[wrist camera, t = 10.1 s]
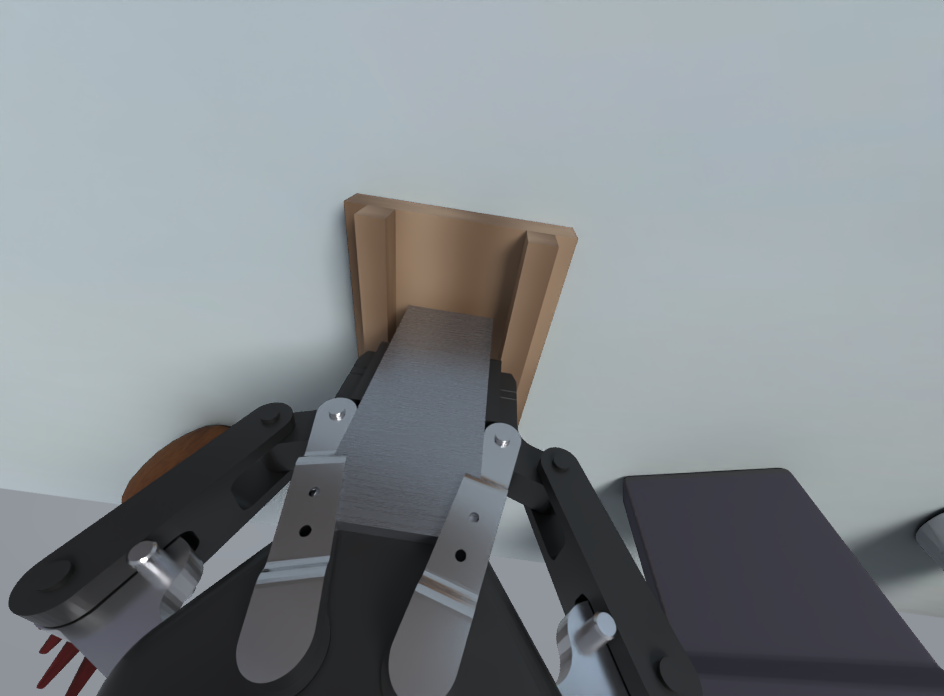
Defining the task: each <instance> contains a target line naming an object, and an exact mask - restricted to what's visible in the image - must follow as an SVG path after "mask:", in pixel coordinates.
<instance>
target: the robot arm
mask: <svg viewBox="0 0 944 696" xmlns="http://www.w3.org/2000/svg"><path fill="white" fill-rule="evenodd" d="M389 344H390V342H384V341H382V342H381V343H380V345H379V347H378V349H377V351H376V352H373V351H367V352H366V353H364V354H363V355H361V356H360V357H359V358H358V360H357V361H356V363H355V365H354V367H353V368H352V370H351V372H350V374H349V375H348V377H347V378H346V380H345V382H344V383H343V385H342V387H341V388H340V390H339V392H338V393H337V395H336V397H335V398H333V399H330V400H328V401H326V402H324V403H323V404H322V405H321V406H320V407H319V408H318V410H314V411H306V412H295V413H293V411H292V409H291V407H290V406H288V405H287V404H284V403H270V404H266V405H263V406H261V407H259V408H257V409H256V410H254V411H253V412H252V413H250V414H249V415H247V416H246V417H244V418H243V419H242V420H240V421H239V422H237V423H236V424H235V425H233V426H232V427H230V428H229V429H227V430H226V431H225V432H223V433H222V434H220V435H219V436H217V437H216V438H215V439H213V440H212V441H210V442H209V443H208V444H206V445H205V446H203V447H202V448H200V449H199V450H198V451H196V452H195V453H193V454H192V455H190V456H189V457H188V458H186V459H185V460H183V461H182V462H181V463H179V464H178V465H176V466H175V467H173V468H172V469H171V470H169V471H168V472H166V473H165V474H163V475H162V476H161V477H159V478H158V479H156V480H155V481H154V482H152V483H151V484H149V485H148V486H146V487H145V488H144V489H142V490H141V491H139V492H138V493H136V494H135V495H134V496H132V497H131V498H129V499H128V500H126V501H125V502H124V503H122V504H121V505H119V506H118V507H117V508H115V509H114V510H112V511H111V512H109V513H108V514H107V515H105V516H104V517H102V518H101V519H99V520H98V521H97V522H96V523H94V524H93V525H91V526H90V527H88V528H87V529H85V530H84V531H82V532H81V533H80V534H78V535H77V536H75V537H74V538H73V539H71V540H70V541H68V542H67V543H65V544H64V545H63V546H61V547H60V548H58V549H57V550H55V551H54V552H53V553H51V554H50V555H48V556H47V557H45V558H44V559H43V560H42V561H40V562H38V563H37V564H36V565H35V566H33V567H32V568H31V569H30V570H29V571H27V572H26V573H25V574H24V575H23V577H22V578H21V579H20V580H19V581H18V582H17V584H16V585H15V587H14V588H13V590H12V592H11V594H10V597H9V608H10V610H11V611H12V612H13V613H14V614H16V615H19V616H21V617H23V618H25V619H27V620H29V621H31V622H33V623H34V624H35V625H36V627H38V628H40V629H42V630H44V631H46V632H48V633H50V634H53V635H55V636H57V637H59V638H61V639H63V640H66V641H68V642H71V643H72V644H73V645H74V646H75V647H76V648H77V649H78V650H79V651H80V652H81V653H82V654H83V655H84V656H85V657H86V658H87V659H88V660H89V661H90V662H91V663H92V664H93V665H94V666H95V667H96V668H97V669H98V670H99V671H100V672H101V673H102V674H103V675H104V676H105V677H106V678H107V679H106V680H105V682H104V683H103V685H102V687H101V689H100V690H99V692H98V694H97V696H703V692H702V686H701V683H700V679H699V677H698V674H697V672H696V670H695V668H694V666H693V664H692V663H691V661H690V659H689V657H688V655H687V654H686V652H685V650H684V648H683V647H682V645H681V643H680V641H679V640H678V638H677V636H676V634H675V632H674V631H673V629H672V627H671V625H670V624H669V622H668V620H667V618H666V616H665V615H664V613H663V611H662V609H661V608H660V606H659V604H658V602H657V601H656V599H655V597H654V595H653V593H652V592H651V590H650V588H649V586H648V585H647V583H646V581H645V579H644V578H643V576H642V574H641V572H640V570H639V569H638V567H637V565H636V563H635V562H634V560H633V558H632V556H631V554H630V553H629V551H628V549H627V547H626V546H625V544H624V542H623V540H622V539H621V537H620V535H619V533H618V531H617V530H616V528H615V526H614V524H613V523H612V521H611V519H610V517H609V515H608V514H607V512H606V510H605V508H604V507H603V505H602V503H601V501H600V500H599V498H598V496H597V494H596V492H595V491H594V489H593V487H592V485H591V484H590V482H589V480H588V478H587V476H586V475H585V473H584V471H583V469H582V468H581V466H580V464H579V462H578V461H577V459H576V458H575V457H574V456H573V455H572V454H571V453H570V452H568V451H566V450H564V449H562V448H556V447H553V448H549V449H547V450H545V451H541V450H539V449H537V448H535V447H533V446H531V445H529V444H528V443H526V442H525V441H524V440H523V439H522V437H521V436H520V434H519V432H518V427H517V393H516V392H517V384H516V381H515V379H514V377H513V375H512V374H510V373H504V372H501V364H502V361H501V360H496V359H490V365H489V378H488V391H487V403H486V416H485V429H484V442H483V455H482V468H481V478H478V477H476V476H473V475H471V474H468V473H466V474H465V476H464V478H463V480H462V482H461V485H460V487H459V489H458V492H457V494H456V497H455V499H454V501H453V504H452V506H451V509H450V511H449V513H448V516H447V518H446V521H445V523H444V525H443V528H442V530H441V532H440V535H439V537H438V540H437V542H436V544H435V545H432V544H426V543H420V542H413V541H407V540H401V539H394V538H388V537H382V536H375V535H369V534H363V533H356V532H350V531H344V530H339V527H338V522H337V519H338V513H339V506H340V500H341V494H342V488H343V481H344V475H345V469H346V463H347V456H348V454H340V455H334V454H335V452H336V450H337V448H338V446H339V444H340V442H341V440H342V438H343V436H344V434H345V432H346V430H347V428H348V426H349V424H350V422H351V420H352V418H353V416H354V414H355V412H356V410H357V408H358V406H359V404H360V402H361V400H362V398H363V396H364V394H365V392H366V390H367V388H368V386H369V384H370V382H371V380H372V378H373V376H374V374H375V372H376V370H377V368H378V366H379V364H380V362H381V360H382V358H383V356H384V354H385V352H386V350H387V348H388V346H389ZM290 480H291V481H290ZM289 481H290V485H289V488H288V492H287V495H286V498H285V502H284V505H283V509H282V512H281V515H280V519H279V522H278V526H277V529H276V532H275V536H274V539H273V542H271V543H270V544H268V545H267V546H266V547H264V548H263V549H262V550H260V551H259V552H257V553H256V554H255V555H253V556H252V557H251V558H249V559H248V560H247V561H245V562H244V563H242V564H241V565H240V566H238V567H237V568H236V569H234V570H233V571H231V572H230V573H229V574H227V575H226V576H225V577H223V578H222V579H220V580H219V581H218V582H216V583H215V584H214V585H212V586H211V587H209V588H208V589H207V590H206V591H204V592H203V593H201V594H200V595H199V596H197V597H196V598H195V599H193V600H192V601H190V602H189V603H188V604H186V605H185V606H183V607H182V608H181V606H182V604H183V602H184V601H186V600H187V599H188V598H190V597H191V595H192V594H193V593H194V591H195V589H196V586H197V584H198V583H199V581H200V579H201V576H202V573H203V564H204V563H205V562H206V561H207V560H208V559H209V558H210V557H212V556H213V555H214V554H215V553H216V552H217V551H218V550H219V549H220V548H221V547H222V546H223V545H224V544H225V543H226V542H227V541H228V540H229V539H230V538H231V537H232V536H233V535H234V534H235V533H236V532H238V531H239V529H240V528H242V527H243V526H244V525H245V524H246V523H247V522H248V521H249V520H250V519H251V518H252V517H253V516H254V515H255V514H256V513H257V512H258V511H259V510H260V509H261V508H262V507H263V506H265V505H266V504H267V503H268V502H269V501H270V500H271V499H272V498H273V497H274V496H275V495H276V494H277V493H278V492H279V491H280V490H281V489H282V488H283V487H284V486H285V485H286V484H287V483H288V482H289ZM316 491H319V492H320V493H319V494H318V495H317V496H315V497H313V496H314V494H315V492H316ZM506 497H509V498H511V499H513V500H515V501H517V502H519V503H521V504H523V505H524V507H525V510H526V513H527V515H528V518H529V521H530V523H531V526H532V529H533V531H534V534H535V537H536V539H537V542H538V544H539V547H540V550H541V552H542V555H543V558H544V560H545V563H546V566H547V568H548V571H549V573H550V576H551V579H552V581H553V584H554V587H555V589H556V592H557V595H558V597H559V600H560V602H561V605H562V608H563V610H564V613H565V617H564V618H563V619H562V621H561V622H560V624H559V626H558V629H557V636H556V637H557V638H556V639H557V646H558V651H559V655H560V673H559V677H558V680H557V682H556V683H555V681H554V679H553V678H552V676H551V674H550V672H549V670H548V668H547V667H546V665H545V663H544V661H543V659H542V658H541V656H540V654H539V652H538V650H537V649H536V647H535V645H534V643H533V641H532V639H531V638H530V636H529V634H528V632H527V630H526V628H525V627H524V625H523V623H522V621H521V619H520V617H519V616H518V614H517V612H516V610H515V609H514V606H513V605H512V603H511V601H510V599H509V597H508V596H507V594H506V592H505V590H504V588H503V587H502V585H501V583H500V581H499V579H498V577H497V575H496V574H495V572H494V570H493V568H492V566H491V564H490V563H489V557H490V554H491V550H492V547H493V543H494V540H495V536H496V533H497V529H498V526H499V522H500V518H501V515H502V511H503V508H504V504H505V501H506ZM470 516H476V517H477V518H478V519H477V522H475V523H474V522H471V521H470V519H469V517H470ZM916 541H917V542H918V544H919V545H920V546H921V547H922V548H923V549H924V550H925V551H926V552H927V553H928V554H929V556H930V557H931V558H932V559H933V560H934V561H935V562H936V563H937V564H938V565H939V566H940V567H941V568H942V570H943V571H944V513H942V514H940V515H937V516H936V517H934V518H932V519H931V520H929V521H927V522H926V523H925V524H924V525H923V526H922V527H920V528H919V530H918V532H917V533H916ZM180 608H181V609H180Z"/></svg>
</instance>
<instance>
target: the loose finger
mask: <svg viewBox="0 0 944 696" xmlns="http://www.w3.org/2000/svg"><path fill="white" fill-rule="evenodd" d="M492 326H493V318H487V317H481V316H475V315H468V314H462V313H456V312H450V311H443V310H437V309H431V308H425V307H419V306H412V305H409V306H408V308H407V310H406V312H405V314H404V316H403V318H402V320H401V322H400V324H399V326H398V328H397V330H396V332H395V334H394V336H393V338H392V340H391V342H390V344H389V346H388V348H387V350H386V352H385V354H384V356H383V358H382V360H381V362H380V364H379V366H378V368H377V370H376V372H375V374H374V376H373V378H372V380H371V382H370V384H369V386H368V388H367V390H366V392H365V394H364V396H363V398H362V400H361V402H360V404H359V406H358V408H357V410H356V412H355V414H354V416H353V418H352V420H351V422H350V424H349V426H348V428H347V430H346V432H345V434H344V436H343V438H342V440H341V442H340V444H339V446H338V448H337V450H336V452H335V454H334V455H340V454H348V456H347V463H346V469H345V475H344V481H343V488H342V494H341V500H340V506H339V513H338V519H337V522H338V527H339V530H344V531H350V532H356V533H363V534H369V535H375V536H382V537H388V538H394V539H401V540H407V541H413V542H420V543H426V544H432V545H435V544H436V542H437V540H438V537H439V535H440V532H441V530H442V528H443V525H444V523H445V521H446V518H447V516H448V513H449V511H450V509H451V506H452V504H453V501H454V499H455V497H456V494H457V492H458V489H459V487H460V485H461V482H462V480H463V478H464V476H465V474H466V473H468V474H471V475H473V476H476V477H478V478H481V468H482V455H483V442H484V429H485V416H486V403H487V391H488V378H489V365H490V352H491V339H492ZM319 493H320V492H319V491H316V492H315V494H314V496H313V497H315V496H317V495H318V494H319ZM469 519H470V521H471V522H474V523H475V522H477V519H478V518H477V517H476V516H470V517H469Z"/></svg>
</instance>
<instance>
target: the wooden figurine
mask: <svg viewBox="0 0 944 696" xmlns="http://www.w3.org/2000/svg"><path fill="white" fill-rule="evenodd" d="M229 428H230V427H226V426H222V425H215V426H206V427H202V428H199V429H197V430H195V431H192V432H190V433H188V434H186V435H184V436H182V437H180V438H178V439H176V440H174V441H172V442H171V443H170V444H168V445H167V446H165V447H164V448H163V449H161V450H160V451H158V452H157V453H156V454H155V455H154V456H153V457H152V458H151V459H149V460H148V461H147V462H146V463H145V464H144V465H143V466H142V467H141V468H140V470H139V471H138V472H137V473H136V474H135V475H134V477H133V478H132V479H131V480H130V481H129V483H128V485H127V487H126V489H125V491H124V493H123V496H122V503H124V502H125V501H126V500H128V499H129V498H131V497H132V496H134V495H135V494H136V493H138V492H139V491H141V490H142V489H144V488H145V487H146V486H148V485H149V484H151V483H152V482H154V481H155V480H156V479H158V478H159V477H161V476H162V475H163V474H165V473H166V472H168V471H169V470H171V469H172V468H173V467H175V466H176V465H178V464H179V463H181V462H182V461H183V460H185V459H186V458H188V457H189V456H190V455H192V454H193V453H195V452H196V451H198V450H199V449H200V448H202V447H203V446H205V445H206V444H208V443H209V442H210V441H212V440H213V439H215V438H216V437H217V436H219V435H220V434H222V433H223V432H225V431H226V430H227V429H229ZM39 629H40V628H39ZM40 630H41V629H40ZM61 640H62V639H61V638H59V637H57V636H55V635H53V634H51V635H50V637H49V638H48V640H47V641H46V642H45V644H44V645H43V647H42V648H41V649H40V651H39V653H41V654H46V653H48V652H49V651H50V650H51V649H52V648H53V647H54V646H56V645H57V644H58V643H59V642H60V641H61ZM78 652H79V650H78V649H77V648H76V647H75V646H74V645H73V644H72V643H71V642H68V641H67V642H66V644H65V645H64V646H63V648H62V650H61V651H60V652H59V654H58V655H57V657H56V658H55V660H54V661H53V663H52V664H51V666H50V667H49V669H48V670H47V671H46V673H45V675H44V676H43V677H42V679H41V680H40V682H39V683H38V685H37V688H38V689H42V688H44V687H45V686H46V685H47V684H48V683H49V682H50V681H51V680H52V679H53V678H54V677H55V676H56V675H57V674H58V673H59V672H60V671H61V670H62V669H63V668H64V667H65V666H66V664H67V663H68V662H69V661H70V660H71V659H72V658H73V657H74V656H75V655H76V654H77V653H78ZM96 669H97V668H96V667H95V666H94V665H93V664H92V663H91V662H90V661H89V660H88V659H87V658H86V657H84V659H83V662H82V663H81V665H80V667H79V669H78V671H77V673H76V675H75V677H74V679H73V681H72V683H71V685H70V687H69V689H68V691H67V693H66V695H65V696H77V695H78V693H79V692H80V691H81V689H82V688H83V687H84V685H85V684H86V682H87V681H88V680H89V678H90V677H91V676H92V674H93V673H94V672H95V670H96Z"/></svg>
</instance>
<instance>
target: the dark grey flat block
mask: <svg viewBox="0 0 944 696" xmlns="http://www.w3.org/2000/svg"><path fill="white" fill-rule="evenodd" d="M623 502H624V506H625V509H626V513H627V516H628V520H629V523H630V527H631V530H632V534H633V537H634V541H635V544H636V548H637V551H638V555H639V558H640V562H641V565H642V569H643V572H644V576H645V579H646V583H647V585H648V586H649V588H650V590H651V592H652V593H653V595H654V597H655V599H656V601H657V602H658V604H659V606H660V608H661V609H662V611H663V613H664V615H665V616H666V618H667V620H668V622H669V624H670V625H671V627H672V629H673V631H674V632H675V634H676V636H677V638H678V640H679V641H680V643H681V645H682V647H683V648H684V650H685V652H686V654H687V655H688V657H689V659H690V661H691V663H692V664H693V666H694V668H695V670H696V672H697V674H698V677H699V679H700V683H701V686H702V692H703V696H944V670H943V669H941V668H940V667H939V666H938V664H937V663H936V662H935V660H934V659H933V658H932V657H931V655H930V654H929V653H928V651H927V650H926V649H925V648H924V646H923V645H922V644H921V642H920V641H919V640H918V638H917V637H916V636H915V635H914V633H913V632H912V631H911V629H910V628H909V627H908V625H907V624H906V623H905V621H904V620H903V619H902V617H901V616H900V615H899V614H898V612H897V611H896V610H895V608H894V607H893V606H892V604H891V603H890V602H889V600H888V599H887V598H886V596H885V595H884V594H883V592H882V591H881V590H880V589H879V587H878V586H877V585H876V583H875V582H874V581H873V579H872V578H871V577H870V575H869V574H868V573H867V572H866V570H865V569H864V568H863V566H862V565H861V564H860V562H859V561H858V560H857V558H856V557H855V556H854V554H853V553H852V552H851V551H850V549H849V548H848V547H847V545H846V544H845V543H844V541H843V540H842V539H841V537H840V536H839V535H838V534H837V532H836V531H835V530H834V528H833V527H832V526H831V524H830V523H829V522H828V520H827V519H826V518H825V516H824V515H823V514H822V513H821V511H820V510H819V509H818V507H817V506H816V505H815V503H814V502H813V501H812V499H811V498H810V497H809V495H808V494H807V493H806V492H805V490H804V489H803V488H802V486H801V485H800V484H799V482H798V481H797V480H796V478H795V477H794V476H793V475H792V473H791V472H789V471H788V470H786V469H782V468H775V469H756V470H738V471H720V472H702V473H683V474H665V475H647V476H630V477H626V478H625V479H624V486H623Z"/></svg>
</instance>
